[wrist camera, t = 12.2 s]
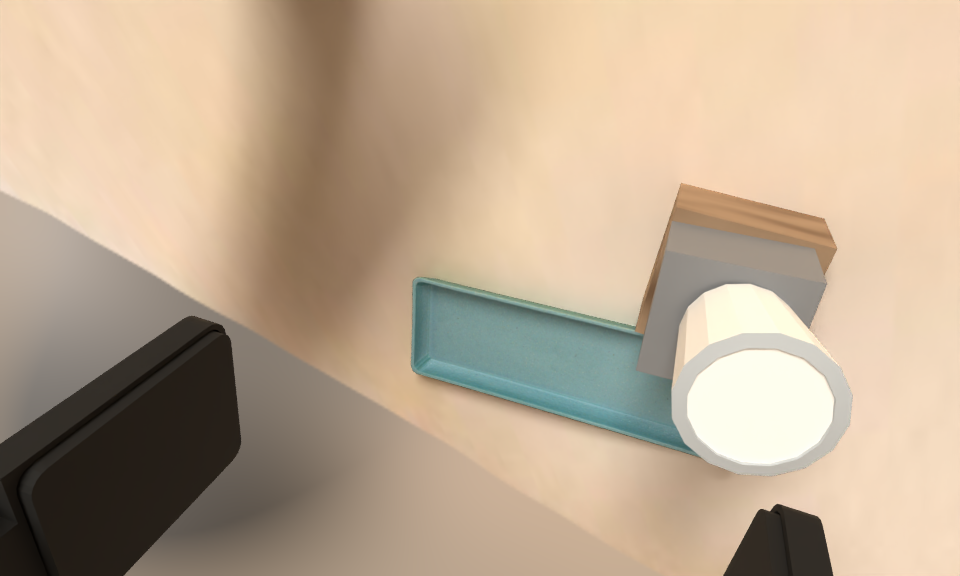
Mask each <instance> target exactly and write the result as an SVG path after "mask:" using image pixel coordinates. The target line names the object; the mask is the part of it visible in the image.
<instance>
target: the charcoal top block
mask: <svg viewBox="0 0 960 576" xmlns="http://www.w3.org/2000/svg"><path fill="white" fill-rule="evenodd" d="M725 284H752V285H755V286H758V287H761V288H764V289H767V290H770V291H772V292H774V293H775V294H776V295H777V296H778V297H779V298H781V299H782V300H783V301H784V302H785V303H786V304H787V305H789V307H790V308H791V309H792V310H793V311H794V312H795V314H796V315H797V316H798V317H799V318H800V320H801V321H802V322H803V323H804V324H805V325H806V327H807V328H808V329H809V327H810V325H811V322H812V320H813V317H814V315H815V313H816V310H817V308H818V305H819V303H820V300H821V298H822V295H823V293H824V290H825V288H826V285H827V282H826V279H825V276H824V274H823V271H822V268H821V265H820V262H819V259H818V256H817V253H816V250H815V249H814V248H809V247H804V246H799V245H794V244H789V243H783V242H778V241H773V240H768V239H763V238H758V237H753V236H747V235H742V234H737V233H732V232H727V231H722V230H717V229H711V228H706V227H701V226H696V225H691V224H686V223H681V222H676V221H672V223H671V227H670V231H669V235H668V239H667V243H666V247H665V251H664V255H663V259H662V263H661V267H660V271H659V275H658V279H657V283H656V287H655V291H654V295H653V299H652V303H651V307H650V311H649V315H648V319H647V323H646V327H645V331H644V336H643V340H642V345H641V349H640V354H639V358H638V362H637V367H636V371H640V372H643V373H647V374H651V375H655V376H659V377H662V378H666V379H670V380H673V374H674V366H675V358H676V349H677V341H678V333H679V325H680V323H681V321H682V318H683V316H684V314H685V312H686V310H687V308H688V306H689V305H691V304H692V303H693V302H694V301H695V300H696V299H697V298H698V297H700V296H701V295H702V294H703V293H704V292H707V291H709V290H712V289H715V288H717V287H720V286H723V285H725Z"/></svg>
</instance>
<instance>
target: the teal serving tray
mask: <svg viewBox="0 0 960 576" xmlns="http://www.w3.org/2000/svg"><path fill="white" fill-rule="evenodd" d="M412 286H413V293H412V297H413V307H412V353H411V368H412V370H413V371H414V372H415V373H416V374H419V375H423V376H427V377H430V378H434V379H437V380H441V381H444V382H448V383H451V384H454V385H458V386H461V387H465V388H468V389H472V390H475V391H479V392H482V393H486V394H489V395H492V396H496V397H499V398H503V399H506V400H509V401H513V402H516V403H520V404H523V405H526V406H530V407H533V408H536V409H540V410H543V411H546V412H550V413H553V414H557V415H560V416H564V417H567V418H570V419H573V420H576V421H580V422H584V423H587V424H590V425H594V426H597V427H600V428H604V429H607V430H611V431H614V432H617V433H621V434H624V435H627V436H631V437H634V438H637V439H641V440H645V441H648V442H651V443H654V444H657V445H661V446H664V447H668V448H671V449H674V450H678V451H681V452H684V453H688V454H691V455H694V456H698V457H700V456H699V455H698V454H697V453H696V452H694V451H693V450H692V449H691V448H690V447H688V446H687V445H686V444H685V443H684V441H683V439H682V437H681V435H680V433H679V431H678V429H677V427H676V426H675V424H674V422H673V420H672V395H671V391H672V382H673V380H670V379H666V378H662V377H659V376H655V375H651V374H647V373H643V372H640V371H636V367H637V362H638V358H639V354H640V349H641V345H642V340H643V336H644V334H641V333H638V332H635V329H636V327H635V326H630V325H626V324H622V323H618V322H614V321H609V320H605V319H601V318H597V317H593V316H589V315H584V314H580V313H576V312H572V311H568V310H564V309H559V308H555V307H551V306H547V305H543V304H538V303H534V302H530V301H526V300H522V299H517V298H513V297H509V296H505V295H500V294H496V293H492V292H488V291H484V290H480V289H476V288H471V287H467V286H463V285H459V284H455V283H451V282H447V281H443V280H439V279H434V278H426V277H417V278H415V279H414V280H413V285H412ZM701 458H702V457H701Z"/></svg>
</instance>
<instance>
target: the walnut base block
mask: <svg viewBox="0 0 960 576" xmlns="http://www.w3.org/2000/svg"><path fill="white" fill-rule="evenodd" d="M672 221H676V222H681V223H686V224H691V225H696V226H701V227H706V228H711V229H717V230H722V231H727V232H732V233H737V234H742V235H747V236H753V237H758V238H763V239H768V240H773V241H778V242H783V243H789V244H794V245H799V246H804V247H809V248H814V249H815V250H816V253H817V256H818V259H819V262H820V265H821V268H822V271H823V274H824V275H825V273H826V271H827V269H828V267H829V264H830V262H831V260H832V258H833V256H834V254H835V252H836V250H837V247H836V245H835V242H834V240H833V238H832V236H831V233H830V231H829V229H828V226H827V224H826V222H825V219H823V218H819V217H815V216H811V215H807V214H803V213H799V212H795V211H791V210H787V209H783V208H779V207H775V206H771V205H767V204H763V203H759V202H755V201H751V200H747V199H743V198H739V197H735V196H731V195H727V194H723V193H719V192H715V191H711V190H707V189H703V188H699V187H695V186H691V185H687V184H683V183H681V185H680V188H679V191H678V194H677V197H676V200H675V204H674V207H673V210H672V213H671V216H670V219H669V222H668V225H667V228H666V231H665V234H664V237H663V240H662V243H661V246H660V249H659V252H658V255H657V258H656V261H655V264H654V267H653V270H652V273H651V276H650V279H649V282H648V285H647V288H646V291H645V294H644V297H643V301H642V305H641V309H640V313H639V317H638V321H637V325H636V329H635V332H638V333H641V334H644V331H645V327H646V323H647V319H648V315H649V311H650V307H651V303H652V299H653V295H654V291H655V287H656V283H657V279H658V275H659V271H660V267H661V263H662V259H663V255H664V251H665V247H666V243H667V239H668V235H669V231H670V227H671V223H672Z"/></svg>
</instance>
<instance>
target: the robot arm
mask: <svg viewBox="0 0 960 576" xmlns="http://www.w3.org/2000/svg"><path fill="white" fill-rule="evenodd" d="M240 445H241V435H240V425H239V415H238V407H237V396H236V386H235V376H234V367H233V357H232V347H231V340H230V338H229V336H228V335H226V333H225V329H224V328H223V326H222V325H219V324H217V323H214V322H211V321H207V320H204V319H201V318H198V317H195V316H189V317H186V318H184V319H183V320H181V321H180V322H178V323H177V324H175V325H174V326H172V327H171V328H169V329H168V330H167V331H165V332H164V333H162V334H161V335H159V336H158V337H156V338H155V339H153V340H152V341H150V342H149V343H148V344H146V345H144V346H143V347H142V348H140V349H139V350H137V351H136V352H134V353H133V354H131V355H130V356H128V357H127V358H125V359H124V360H122V361H121V362H120V363H118V364H117V365H115V366H114V367H112V368H111V369H109V370H108V371H106V372H105V373H103V374H102V375H100V376H99V377H98V378H96V379H95V380H93V381H92V382H90V383H89V384H87V385H86V386H85V387H83V388H81V389H80V390H79V391H77V392H76V393H74V394H73V395H71V396H70V397H69V398H67V399H65V400H64V401H62V402H61V403H59V404H58V405H57V406H55V407H54V408H52V409H51V410H49V411H48V412H46V413H45V414H43V415H42V416H41V417H39V418H37V419H36V420H35V421H33V422H32V423H30V424H29V425H27V426H26V427H25V428H23V429H21V430H20V431H19V432H17V433H16V434H14V435H13V436H11V437H10V438H8V439H7V440H5V441H4V442H2V443H1V444H0V576H124V575H125V573H126V572H127V571H128V570H129V569H130V568H131V567H132V566H133V565H134V564H135V563H136V562H137V561H138V560H139V559H140V558H141V557H142V555H143V554H144V553H145V552H146V551H147V550H148V549H149V548H150V547H151V546H152V545H153V544H154V543H155V542H156V541H157V540H158V539H159V538H160V536H161V535H162V534H163V533H164V532H165V531H166V530H167V529H168V528H169V527H170V526H171V525H172V524H173V523H174V522H175V521H176V520H177V519H178V518H179V516H180V515H181V514H182V513H183V512H184V511H185V510H186V509H187V508H188V507H189V506H190V505H191V504H192V503H193V502H194V501H195V500H196V498H198V496H199V495H200V494H201V493H202V492H203V491H204V490H205V489H206V488H207V487H208V486H209V485H210V484H211V483H212V482H213V481H214V480H215V479H216V478H217V476H218V475H219V474H220V473H221V472H222V471H223V470H224V469H225V468H226V467H227V466H228V465H229V464H230V463H231V462H232V461H233V459H234V458H235V457H236V455H237V453H238V451H239V449H240ZM723 576H833V572H832V567H831V563H830V558H829V553H828V549H827V544H826V539H825V534H824V530H823V525H822V523H821V520H820V519H819V518H818V517H817V516H814V515H811V514H808V513H805V512H802V511H799V510H796V509H792V508H789V507H786V506H783V505H780V504H776V505H775V506H774V507H773V508H772V510H771V511H767V510H764V509H760V510H759V511H758V512H757V514H756V516H755V517H754V519H753V521H752V523H751V525H750V527H749V529H748V530H747V532H746V534H745V536H744V538H743V540H742V542H741V544H740V545H739V547H738V549H737V551H736V553H735V555H734V557H733V558H732V560H731V562H730V564H729V566H728V568H727V570H726V572H725V573H724V575H723Z"/></svg>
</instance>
